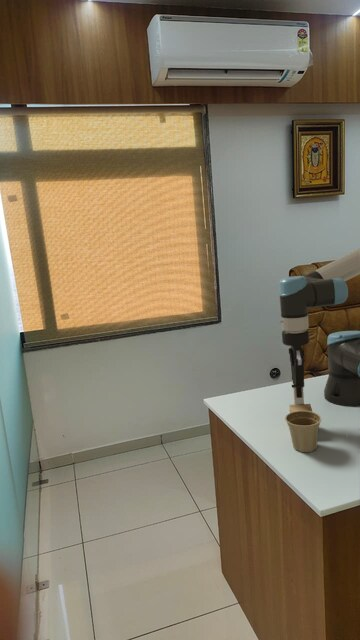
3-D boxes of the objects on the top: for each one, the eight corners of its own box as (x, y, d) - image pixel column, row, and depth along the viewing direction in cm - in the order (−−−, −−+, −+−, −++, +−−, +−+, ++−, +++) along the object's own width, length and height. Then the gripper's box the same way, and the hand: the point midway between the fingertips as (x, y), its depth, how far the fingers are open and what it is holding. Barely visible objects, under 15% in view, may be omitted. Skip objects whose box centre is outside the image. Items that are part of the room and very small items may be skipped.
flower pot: (298, 459, 108) (297, 428, 106) (280, 443, 117) (278, 415, 115) (329, 450, 110) (328, 420, 108) (309, 436, 119) (308, 408, 117)
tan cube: (310, 403, 123) (314, 417, 117) (310, 419, 125) (313, 433, 120) (289, 404, 124) (292, 418, 118) (289, 419, 126) (292, 434, 121)
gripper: (279, 326, 127) (283, 398, 131) (284, 336, 114) (289, 416, 119) (304, 324, 126) (308, 397, 130) (312, 334, 113) (316, 414, 118)
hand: (299, 406), depth 124 cm, fingers closed
